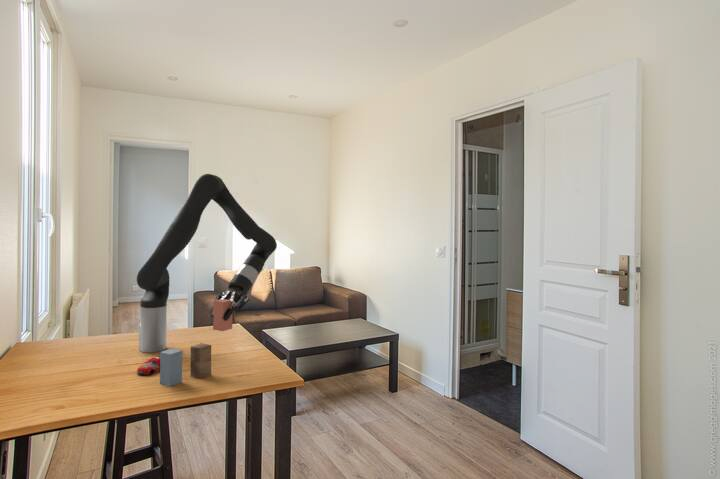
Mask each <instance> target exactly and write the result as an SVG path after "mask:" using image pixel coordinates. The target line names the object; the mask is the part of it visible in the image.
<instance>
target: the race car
mask: <svg viewBox="0 0 720 479" xmlns="http://www.w3.org/2000/svg"><path fill="white" fill-rule="evenodd" d="M158 371H159V372H160V355H156V356H153V357H151V358H149V359H148V360H147V361H144V363H143V364H142V365H140V366H139V367H137V369H136V372H137V375H141V376H142V375H143V376H146V375H147V376H148V375H150V376H151V375H153V374H154V373H157V372H158Z"/></svg>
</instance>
